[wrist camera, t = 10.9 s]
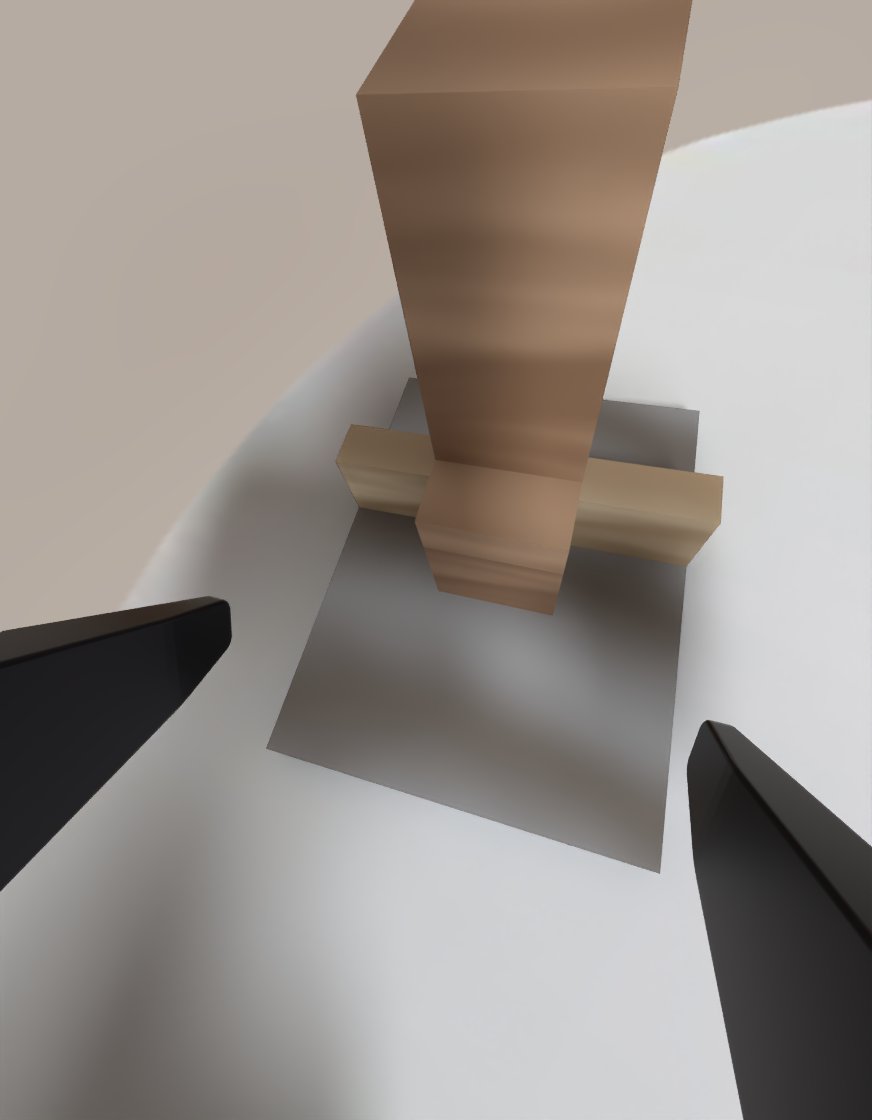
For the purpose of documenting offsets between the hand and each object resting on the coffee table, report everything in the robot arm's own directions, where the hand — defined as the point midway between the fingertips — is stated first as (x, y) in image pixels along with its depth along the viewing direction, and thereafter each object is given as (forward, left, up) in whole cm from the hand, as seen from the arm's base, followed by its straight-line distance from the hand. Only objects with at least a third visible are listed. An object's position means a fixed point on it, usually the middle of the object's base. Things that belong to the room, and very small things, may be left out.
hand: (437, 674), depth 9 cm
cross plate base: (+6, 0, -8) cm, 10 cm away
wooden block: (+8, 0, -7) cm, 10 cm away
